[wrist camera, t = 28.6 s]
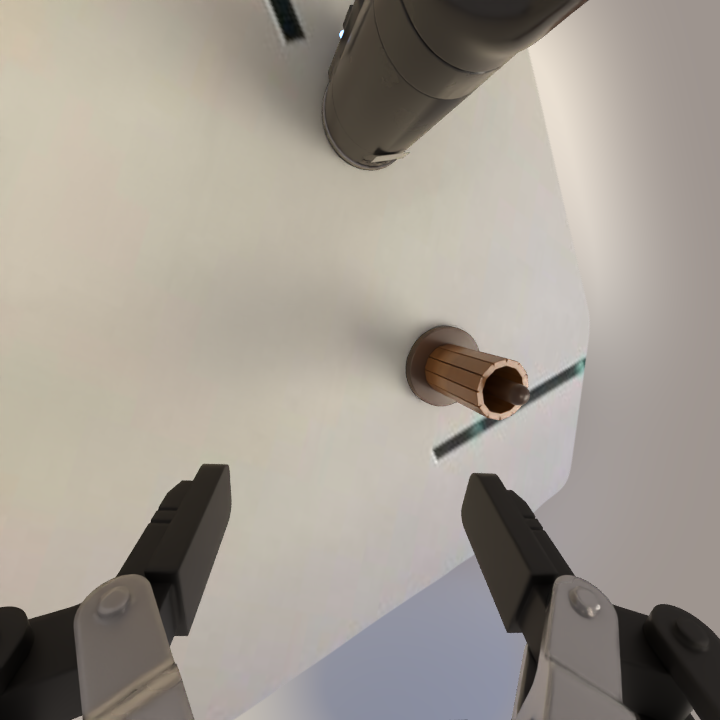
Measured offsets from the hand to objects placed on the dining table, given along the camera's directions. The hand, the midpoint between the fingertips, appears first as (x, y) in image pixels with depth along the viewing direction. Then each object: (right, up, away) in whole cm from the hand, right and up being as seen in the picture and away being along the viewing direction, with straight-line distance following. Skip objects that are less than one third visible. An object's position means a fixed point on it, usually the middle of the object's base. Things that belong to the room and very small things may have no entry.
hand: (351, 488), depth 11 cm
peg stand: (+11, +4, +32) cm, 34 cm away
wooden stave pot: (+11, +3, +31) cm, 33 cm away
